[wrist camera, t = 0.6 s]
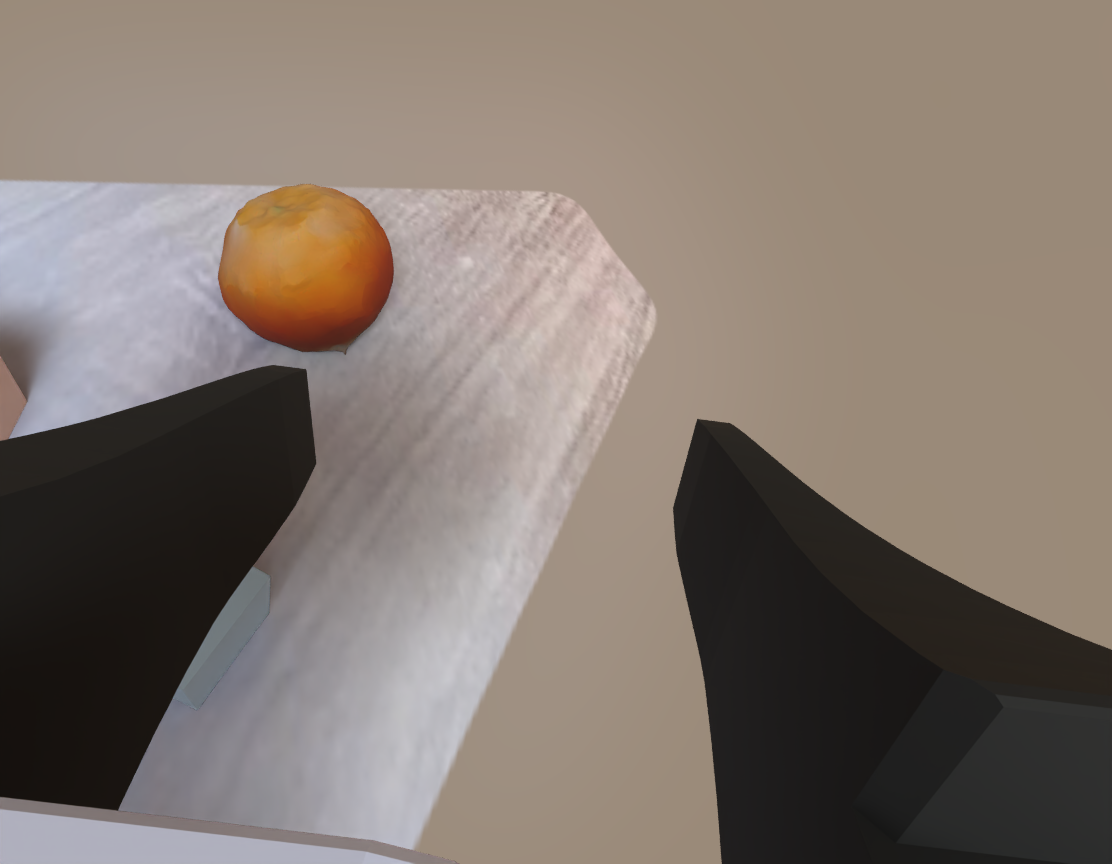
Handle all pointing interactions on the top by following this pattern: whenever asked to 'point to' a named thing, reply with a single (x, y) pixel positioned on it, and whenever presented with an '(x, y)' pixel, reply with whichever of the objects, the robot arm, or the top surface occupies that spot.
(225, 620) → the grayish teal block
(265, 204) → the fruit
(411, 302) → the top surface
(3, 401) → the terracotta block
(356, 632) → the top surface
